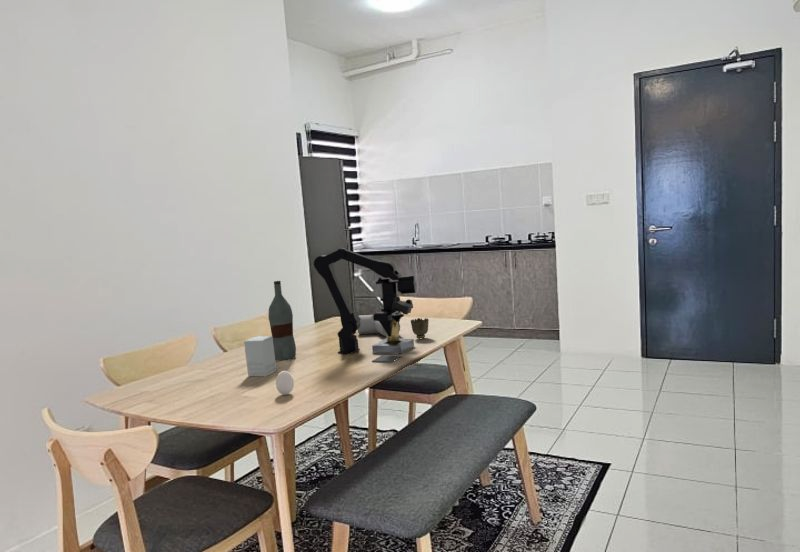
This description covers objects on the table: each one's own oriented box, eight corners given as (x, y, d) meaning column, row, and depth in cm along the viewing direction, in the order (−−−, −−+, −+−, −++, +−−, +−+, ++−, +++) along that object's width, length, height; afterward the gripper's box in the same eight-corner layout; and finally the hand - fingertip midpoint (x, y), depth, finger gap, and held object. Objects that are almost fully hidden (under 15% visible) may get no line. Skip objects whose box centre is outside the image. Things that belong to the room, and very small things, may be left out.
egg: (279, 398, 170) (276, 374, 169) (275, 394, 174) (273, 370, 174) (296, 395, 172) (294, 371, 171) (292, 390, 177) (290, 367, 176)
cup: (433, 336, 238) (431, 317, 237) (424, 340, 232) (422, 321, 231) (417, 336, 242) (416, 317, 241) (408, 339, 236) (407, 320, 235)
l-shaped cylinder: (405, 326, 260) (362, 328, 263) (403, 304, 257) (359, 307, 260) (400, 343, 243) (354, 345, 247) (397, 320, 240) (351, 323, 243)
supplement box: (277, 370, 203) (273, 335, 201) (265, 376, 196) (261, 340, 194) (259, 370, 205) (255, 335, 204) (247, 376, 198) (243, 340, 197)
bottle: (278, 355, 226) (271, 280, 223) (300, 355, 224) (293, 279, 221) (268, 361, 217) (260, 283, 214) (291, 361, 215) (283, 282, 212)
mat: (372, 361, 204) (371, 360, 204) (382, 356, 212) (381, 355, 211) (392, 362, 201) (392, 361, 201) (401, 357, 208) (401, 355, 208)
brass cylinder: (385, 346, 219) (383, 321, 218) (390, 343, 224) (388, 319, 223) (396, 346, 217) (394, 321, 216) (401, 343, 222) (399, 319, 221)
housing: (372, 353, 218) (372, 345, 217) (386, 345, 228) (386, 338, 228) (401, 354, 213) (400, 346, 212) (414, 346, 223) (413, 338, 223)
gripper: (398, 298, 207) (401, 340, 208) (418, 290, 223) (421, 330, 225) (371, 298, 211) (374, 340, 213) (392, 291, 228) (395, 329, 230)
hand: (392, 334), depth 220 cm, fingers closed on brass cylinder, 5 cm apart
